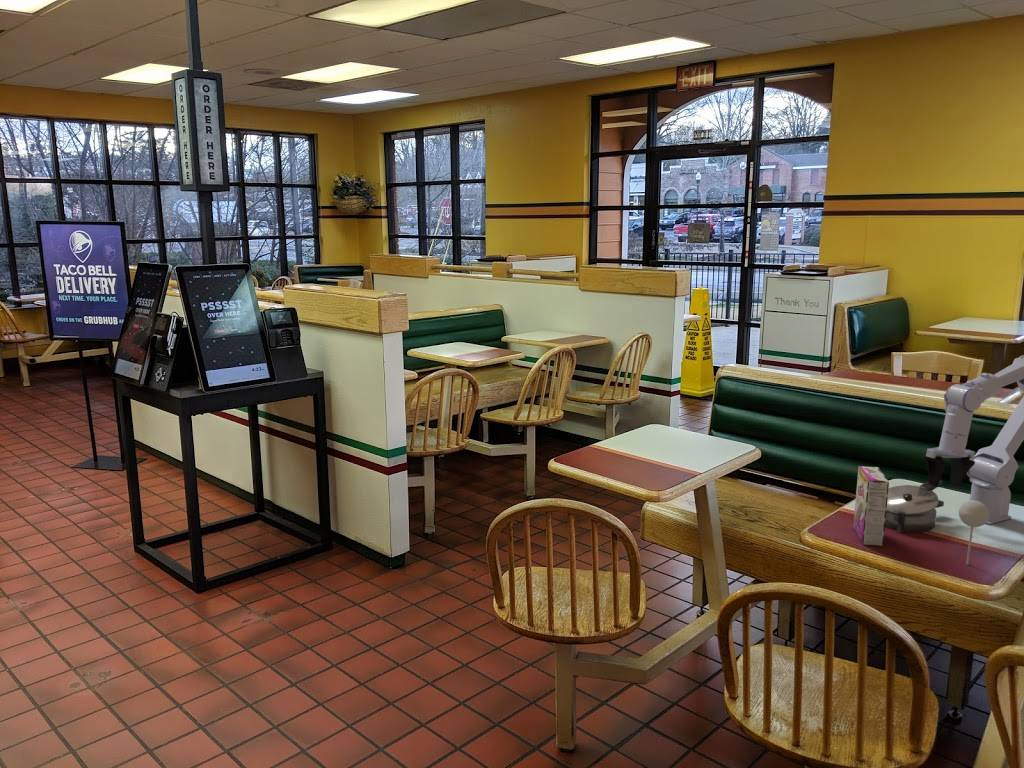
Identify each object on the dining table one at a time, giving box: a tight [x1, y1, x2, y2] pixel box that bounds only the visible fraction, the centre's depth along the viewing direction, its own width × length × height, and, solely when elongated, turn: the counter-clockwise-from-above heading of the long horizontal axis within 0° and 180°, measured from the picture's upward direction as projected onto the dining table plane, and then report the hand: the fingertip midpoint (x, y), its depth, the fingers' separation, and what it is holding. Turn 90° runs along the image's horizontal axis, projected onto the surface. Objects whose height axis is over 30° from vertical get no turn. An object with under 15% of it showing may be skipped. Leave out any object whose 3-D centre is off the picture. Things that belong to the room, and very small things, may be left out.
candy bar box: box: [852, 465, 890, 547], centre depth 194 cm, size 11×5×16 cm, turn 168°
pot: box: [885, 499, 945, 534], centre depth 206 cm, size 20×13×5 cm, turn 117°
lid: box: [887, 479, 943, 515], centre depth 204 cm, size 19×14×2 cm
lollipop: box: [958, 500, 989, 566], centre depth 179 cm, size 6×6×15 cm
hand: (943, 485), depth 201 cm, fingers open, 7 cm apart
